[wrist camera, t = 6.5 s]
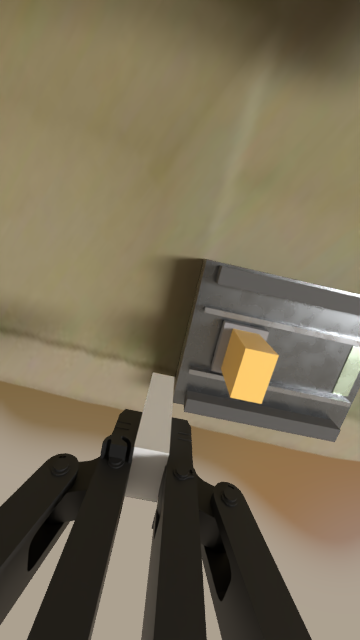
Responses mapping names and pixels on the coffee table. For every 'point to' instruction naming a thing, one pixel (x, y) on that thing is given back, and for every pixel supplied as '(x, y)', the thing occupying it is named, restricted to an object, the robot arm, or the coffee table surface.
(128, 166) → the coffee table surface
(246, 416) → the pair of guide rails
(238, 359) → the handle
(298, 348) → the grey rail base
